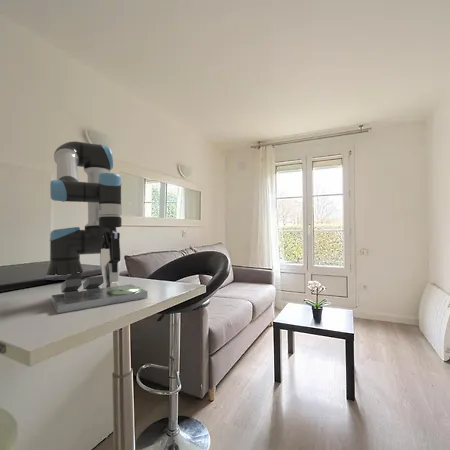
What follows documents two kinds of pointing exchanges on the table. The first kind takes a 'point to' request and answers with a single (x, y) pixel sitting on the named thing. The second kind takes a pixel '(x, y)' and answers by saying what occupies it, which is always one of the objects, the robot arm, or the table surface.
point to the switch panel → (96, 297)
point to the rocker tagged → (71, 285)
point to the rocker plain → (93, 282)
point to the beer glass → (107, 268)
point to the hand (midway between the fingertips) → (110, 280)
